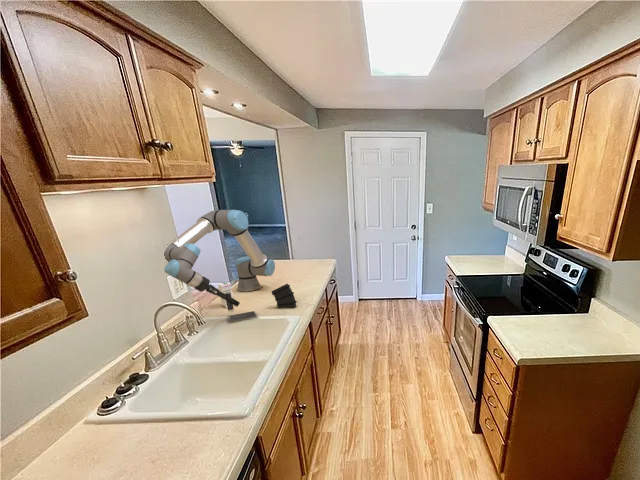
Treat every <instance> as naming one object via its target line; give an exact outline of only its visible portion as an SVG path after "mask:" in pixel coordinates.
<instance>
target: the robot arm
mask: <svg viewBox="0 0 640 480" xmlns="http://www.w3.org/2000/svg"><path fill="white" fill-rule="evenodd" d="M248 229H249V217H248V216H247V215H246V213H244V211H242V210H239V209H238V210H237V209H214V210H211V211H209V212H207V213H205V214H203V215H202V216H200V217H198V218H197V220H196V223H194V224H193V225H192V226H190V227H189V228H187V229H186V230H185V231H183V232H182V233H181V234H180V235H178V236H177V237H178V239H177V240H176V238H174V239H175V240H174V239H173V240H174V241H173V240H172V241H173V242H172V241H171V242H172V243H171V244H170V245H169V246H168V247H167V248H166V250H165V252H164V256H165V259H166V260H167V261H168V262H167V264H165V267H164V272H165V273H166V274H167V275H169V276H170V277H172V278H174V279H176V280H178V281H180V282H183V283H184V284H186V287H191V288H193V289H195V290H196V291H198V292H201V293H202V292H207V293H209V294H211V295H214V296H217V297H219V298H220V299H221V298H223V299H224V300H226V302H227V301H228V302H230V303H231V304H233V305H235V306H234V307H237V308H238V306H239V305H240V304H241V302H240V301H238V300H236V299H235V298H234V297H233V298H234V299H233V298H231V297H229V296H227V295H225V294H224V293H222V292H220V291H219V288H217V287H216V286H214V285H212V284H210V283H211V281H210V279H209V278H207V277H206V276H203V275H202V274H201V273H199V272H197V271H195V270H193V268H194V265H195V263H196V262H197V260H198V258H199V255H200V254H201V248H200V247H199V246H198V245H196V243H198V241H200V240H201V239H202V238H203V237H205V236H207V234H211V233H213V232H214V231H219V230H222V231H227V232H228V234H229V235H230V236H231V237H234V238H235V240H236V241H237V242H238V244H239V245H240V247H241V248H242V250H243V251H244V252H245V254H246V256H242V257H239V258H236V259H235V266H236V272H237V277H238V282H237V291H238V292H241V293H243V292H244V293H247V292H248V293H249V292H255V291H258V290H259V289H261V287H262V286H261V283H260V281H259V279H258V277H271V276H272V275H273V274H274V272H275V270H276V263H275V261H274V260H273V259H271V258H268V256H267V255H266V254H265V253H263V252H262V251H261V249H260V248H259V246H258V245H257V243H256V241H255V240H254V238H253V237H252V235H251V234H250V232H249V230H248ZM178 240H179V242H178ZM257 276H258V277H257Z"/></svg>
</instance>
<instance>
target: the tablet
mask: <svg viewBox="0 0 640 480" xmlns="http://www.w3.org/2000/svg"><path fill="white" fill-rule="evenodd" d="M229 317H230V318H229ZM227 318H228V322H229V323H230V324H231V323H236V322H242V321H246V320H253V319H257V314H256V312H255V311H254V310H253V311H246V312H241V313H235V314H229V315H228V316H227Z"/></svg>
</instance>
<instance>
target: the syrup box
mask: <svg viewBox="0 0 640 480" xmlns="http://www.w3.org/2000/svg"><path fill="white" fill-rule="evenodd" d="M217 286H218V290H219V291H220V292H222V293H224V294H225V292H230V293H231V297H232V298H233V299H235V298H234V293H233V289H232V285H231V283H230V282H227V281H225V282H221V283H217ZM220 300H221V304H222V306H223V307H224V308H227V303H226V300H224V299H223V298H221V297H220ZM233 307H236V306H235V305H233ZM227 309H228V308H227Z"/></svg>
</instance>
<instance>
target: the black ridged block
mask: <svg viewBox="0 0 640 480" xmlns="http://www.w3.org/2000/svg"><path fill="white" fill-rule="evenodd" d="M294 294H295V292H294V291H293V290H292V288H291V285H290V284H289V283H285V284H283V285H281V286H279V287H278V288H275V289H273V290H272V291H271V296H273V297H274V301H276V307H277V309H295V308H296V307H297V300H296V297H295V295H294Z"/></svg>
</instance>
